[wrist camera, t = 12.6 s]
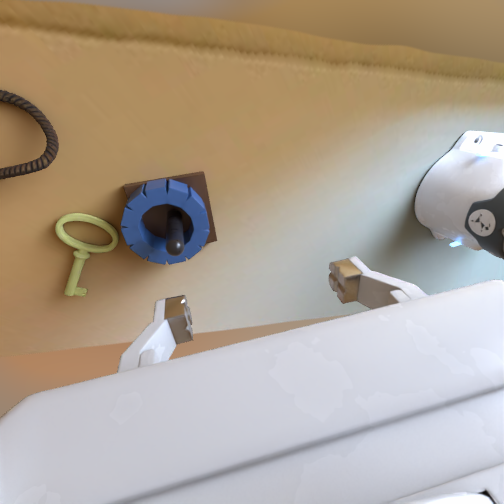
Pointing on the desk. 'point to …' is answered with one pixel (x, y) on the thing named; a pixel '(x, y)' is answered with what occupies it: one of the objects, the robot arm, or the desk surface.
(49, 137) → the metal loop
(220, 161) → the desk surface
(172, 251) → the peg stand
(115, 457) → the robot arm
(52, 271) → the desk surface
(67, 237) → the key
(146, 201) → the ring
